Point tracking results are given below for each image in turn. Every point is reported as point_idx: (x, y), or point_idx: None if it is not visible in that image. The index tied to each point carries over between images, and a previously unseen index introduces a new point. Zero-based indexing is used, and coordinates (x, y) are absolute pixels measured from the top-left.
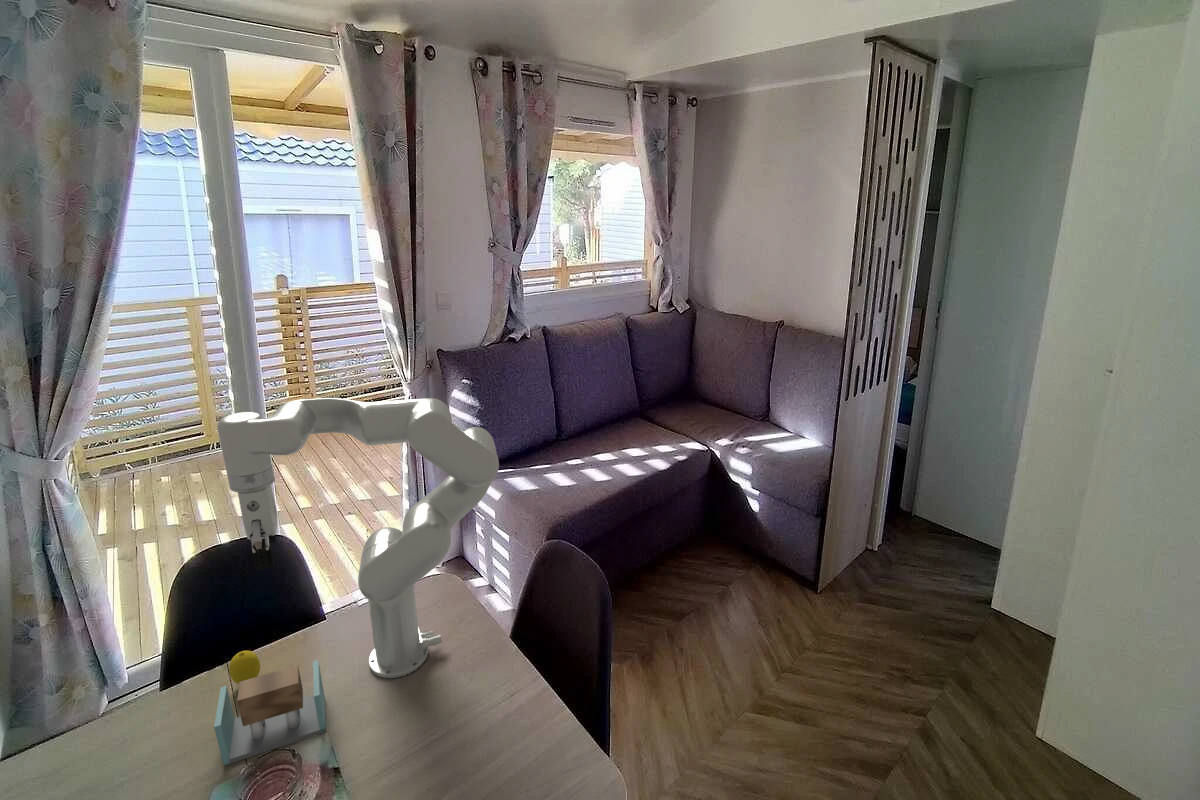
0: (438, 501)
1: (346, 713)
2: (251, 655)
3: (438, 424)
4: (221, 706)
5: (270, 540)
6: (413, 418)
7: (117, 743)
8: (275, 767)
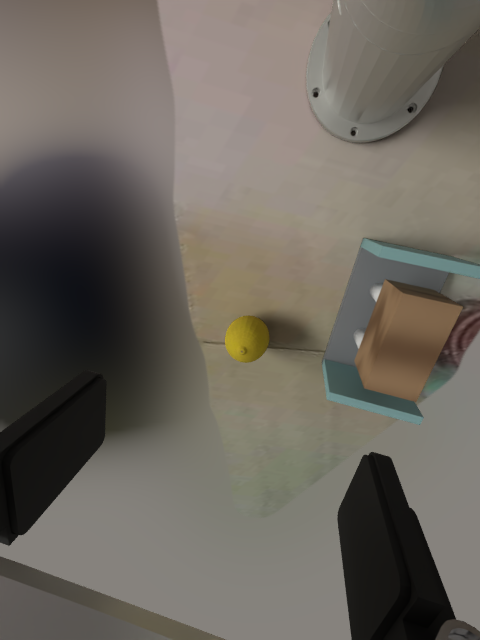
0: None
1: (437, 216)
2: (249, 336)
3: None
4: (378, 408)
5: (95, 405)
6: None
7: (264, 453)
8: (457, 332)
